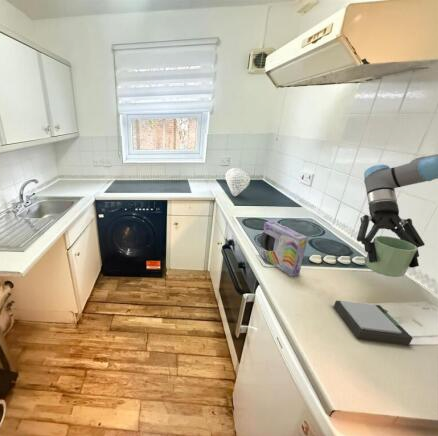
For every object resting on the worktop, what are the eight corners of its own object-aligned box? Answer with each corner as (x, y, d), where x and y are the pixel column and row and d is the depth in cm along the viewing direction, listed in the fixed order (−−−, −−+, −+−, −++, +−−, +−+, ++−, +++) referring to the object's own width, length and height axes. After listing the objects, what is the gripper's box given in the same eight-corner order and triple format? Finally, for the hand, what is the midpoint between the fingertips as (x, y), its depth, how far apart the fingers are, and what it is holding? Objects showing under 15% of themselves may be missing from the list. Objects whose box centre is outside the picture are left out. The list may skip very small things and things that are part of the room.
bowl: (399, 266, 84) (411, 240, 80) (408, 282, 76) (422, 254, 72) (362, 258, 89) (372, 233, 85) (366, 272, 81) (378, 245, 77)
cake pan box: (256, 254, 113) (263, 220, 106) (265, 252, 114) (272, 219, 108) (290, 277, 96) (300, 239, 89) (299, 275, 98) (310, 237, 91)
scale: (376, 312, 79) (380, 303, 78) (408, 345, 67) (414, 336, 66) (333, 307, 81) (336, 298, 80) (357, 339, 69) (361, 329, 68)
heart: (221, 191, 212) (224, 166, 203) (239, 191, 210) (243, 166, 202) (228, 201, 186) (232, 173, 177) (249, 201, 185) (254, 173, 176)
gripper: (413, 211, 87) (427, 271, 79) (340, 206, 93) (346, 261, 85) (431, 202, 80) (448, 267, 72) (351, 197, 86) (359, 256, 78)
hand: (393, 264), depth 79 cm, fingers closed on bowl, 10 cm apart
